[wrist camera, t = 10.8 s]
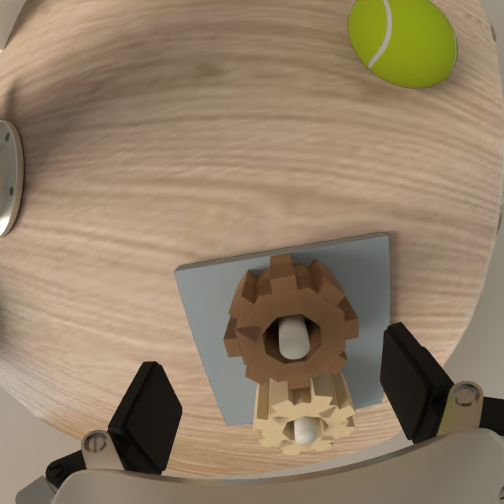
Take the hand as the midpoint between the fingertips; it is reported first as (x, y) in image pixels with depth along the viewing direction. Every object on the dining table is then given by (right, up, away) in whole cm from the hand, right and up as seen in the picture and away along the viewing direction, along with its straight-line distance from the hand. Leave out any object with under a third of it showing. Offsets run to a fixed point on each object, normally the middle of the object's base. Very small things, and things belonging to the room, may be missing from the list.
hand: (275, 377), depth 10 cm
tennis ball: (+8, +19, +4) cm, 21 cm away
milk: (-36, +36, +2) cm, 51 cm away
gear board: (+2, -2, +9) cm, 10 cm away
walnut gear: (+1, +1, +7) cm, 8 cm away
